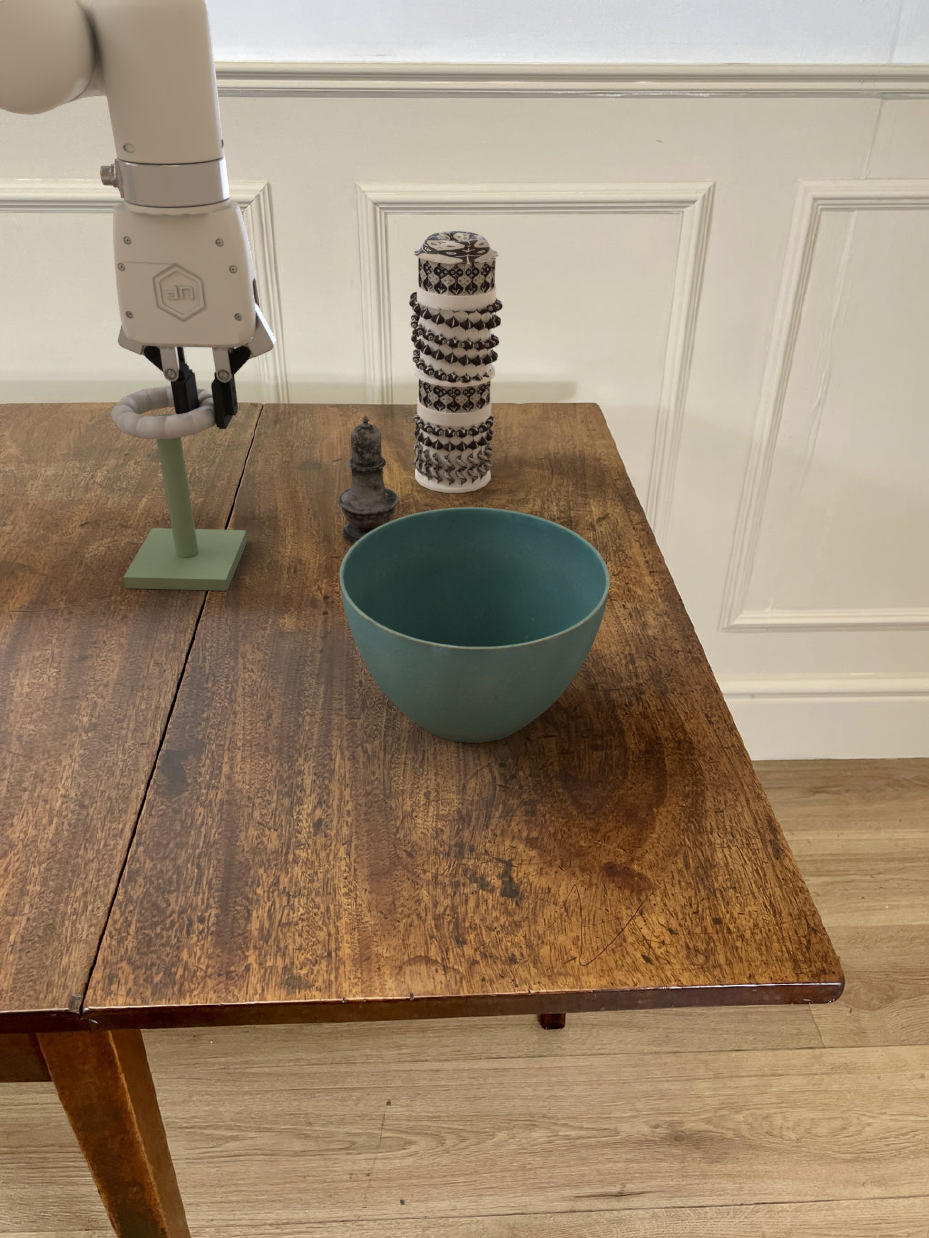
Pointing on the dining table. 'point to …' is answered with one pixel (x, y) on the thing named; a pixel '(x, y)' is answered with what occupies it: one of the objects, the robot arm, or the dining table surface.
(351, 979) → the dining table surface
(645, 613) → the dining table surface
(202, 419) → the ring
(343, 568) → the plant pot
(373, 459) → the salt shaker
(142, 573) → the rack
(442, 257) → the decorative candle
